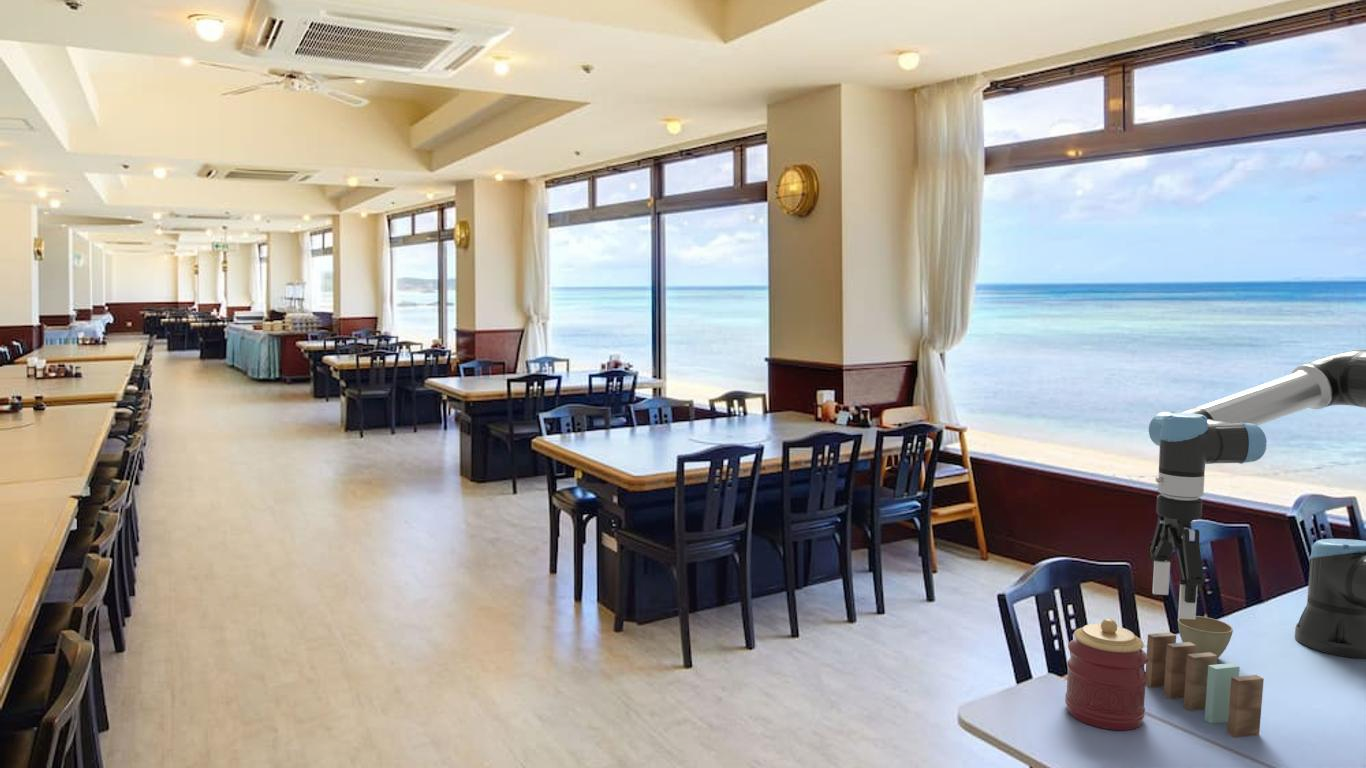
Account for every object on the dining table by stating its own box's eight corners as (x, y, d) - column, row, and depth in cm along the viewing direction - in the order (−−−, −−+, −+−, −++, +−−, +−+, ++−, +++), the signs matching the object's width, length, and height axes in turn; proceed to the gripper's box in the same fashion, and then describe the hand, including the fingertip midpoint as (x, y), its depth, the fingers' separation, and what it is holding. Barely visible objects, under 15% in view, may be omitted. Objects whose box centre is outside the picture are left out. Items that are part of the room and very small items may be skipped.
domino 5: (1251, 730, 157) (1255, 674, 156) (1259, 734, 156) (1263, 678, 155) (1227, 732, 156) (1231, 677, 155) (1234, 737, 154) (1238, 681, 153)
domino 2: (1186, 692, 172) (1189, 641, 171) (1192, 696, 170) (1196, 645, 169) (1163, 695, 171) (1166, 643, 170) (1169, 698, 169) (1173, 647, 168)
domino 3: (1206, 704, 167) (1210, 652, 166) (1213, 708, 165) (1217, 655, 164) (1183, 707, 166) (1187, 654, 165) (1190, 710, 164) (1193, 657, 163)
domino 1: (1166, 681, 177) (1170, 632, 176) (1173, 685, 175) (1176, 635, 174) (1144, 683, 175) (1147, 634, 174) (1150, 687, 174) (1153, 637, 173)
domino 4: (1228, 716, 162) (1232, 663, 161) (1235, 721, 160) (1239, 666, 159) (1204, 719, 161) (1208, 665, 160) (1211, 723, 159) (1215, 668, 158)
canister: (1142, 738, 154) (1148, 638, 152) (1060, 720, 160) (1065, 623, 158) (1145, 708, 165) (1152, 614, 163) (1069, 692, 171) (1074, 602, 169)
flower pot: (1238, 668, 183) (1241, 634, 182) (1184, 664, 185) (1187, 630, 184) (1219, 649, 193) (1222, 617, 192) (1169, 645, 195) (1171, 613, 194)
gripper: (1136, 481, 182) (1130, 583, 184) (1183, 510, 158) (1176, 628, 160) (1176, 482, 181) (1170, 585, 183) (1230, 512, 157) (1222, 631, 159)
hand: (1172, 605), depth 172 cm, fingers open, 13 cm apart
